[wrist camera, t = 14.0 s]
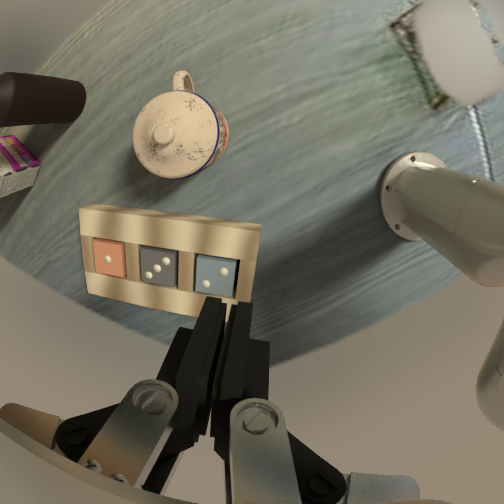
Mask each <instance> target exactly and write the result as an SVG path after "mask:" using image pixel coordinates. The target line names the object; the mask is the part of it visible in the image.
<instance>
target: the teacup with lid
mask: <svg viewBox="0 0 504 504" xmlns="http://www.w3.org/2000/svg"><path fill="white" fill-rule="evenodd" d="M228 140H229V128H228V124H227V121H226V119H225V117H224V116H223V115H222V113H221V112H220V111H219V110H218V109H216V108H215V107H213V106H211V105H210V104H209V103H208V102H207V101H206V100H205V99H204V98H202V97H201V96H199V95H197V94H195V93H194V88H193V83H192V80H191V77H190V75H189V74H188V73H187V72H186V71H178V72H176V73H175V74H174V76H173V80H172V91H169V92H166V93H163V94H161V95H159V96H157V97H155V98H154V99H152V100H151V101H150V102H148V103H147V104H146V105H145V106H144V108H143V109H142V110H141V112H140V113H139V115H138V117H137V119H136V121H135V124H134V128H133V147H134V150H135V153H136V156H137V158H138V159H139V161H140V162H141V164H142V165H143V166H144V167H145V168H146V169H147V170H148V171H150V172H151V173H153V174H155V175H157V176H159V177H162V178H166V179H181V178H185V177H188V176H191V175H193V174H195V173H197V172H198V171H200V170H201V169H202V168H204V167H206V166H209V165H211V164H212V163H214V162H215V161H216V160H218V159H219V158H220V156H221V155H222V154H223V153H224V151H225V149H226V147H227V144H228Z"/></svg>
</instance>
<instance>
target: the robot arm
mask: <svg viewBox="0 0 504 504" xmlns="http://www.w3.org/2000/svg"><path fill="white" fill-rule="evenodd" d="M410 157H411V160H410ZM386 186H388V188H387V189H386ZM380 206H381V210H382V214H383V216H384V219H385V221H386V222H387V224H388V225H389V227H390V228H391V229H392V230H393V231H394V232H395V233H397V234H398V235H399V236H401V237H403V238H405V239H407V240H412V241H421V240H424V241H425V242H427V243H428V244H429V245H430V246H432V247H433V248H434V249H435V250H437V251H438V252H439V253H440V254H442V255H443V256H444V257H445V258H446V259H448V260H449V261H450V262H451V263H452V264H453V265H455V266H456V267H457V268H458V269H459V270H461V271H462V272H463V273H464V274H465V275H466V276H468V277H469V278H470V279H471V280H472V281H474V282H475V283H477V284H479V285H481V286H485V287H500V286H504V185H501V184H498V183H494V182H491V181H488V180H485V179H482V178H479V177H475V176H472V175H468V174H465V173H461V172H458V171H454V170H450V169H448V168H447V166H446V165H445V164H444V163H443V161H441V160H440V159H439V158H438V157H436V156H434V155H432V154H430V153H426V152H420V151H415V152H409V153H406V154H404V155H402V156H400V157H399V158H397V159H396V160H395V161H394V162H393V163H392V164H391V165H390V167H389V168H388V170H387V171H386V173H385V176H384V178H383V180H382V184H381V188H380ZM395 225H396V226H395ZM252 309H253V303H249V302H242V301H238V304H237V305H235V304H231V309H230V313H229V317H228V321H227V326H226V330H225V320H226V310H227V303H223V302H222V298H217V297H211V296H206V299H205V301H204V304H203V306H202V309H201V311H200V314H199V316H198V319H197V322H196V324H195V327H194V329H188V328H183V327H180V328H179V329H178V331H177V333H176V335H175V337H174V339H173V341H172V344H171V346H170V348H169V351H168V353H167V355H166V357H165V360H164V362H163V364H162V366H161V369H160V371H159V373H158V375H157V378H156V380H154V379H153V380H152V379H149V380H144V381H140V382H138V383H137V384H135V385H134V386H133V387H132V388H131V389H130V390H129V391H128V393H127V394H126V395H125V397H124V398H123V400H122V401H121V402H120V403H118V404H115V405H112V406H109V407H106V408H103V409H100V410H96V411H93V412H90V413H87V414H83V415H80V416H76V417H73V418H69V419H67V420H61V419H60V417H59V416H55V415H52V414H48V413H45V412H41V411H38V410H34V409H31V408H28V407H25V406H22V405H19V404H16V403H8V404H5V405H4V406H3V407H1V409H0V504H197V503H192V502H187V501H183V500H178V499H174V498H170V497H166V496H164V494H165V492H166V490H167V488H168V485H169V484H170V481H171V479H172V477H173V475H174V473H175V471H176V469H177V467H178V465H179V462H180V460H181V458H182V456H183V452H184V450H186V449H188V448H190V447H193V446H194V443H195V442H198V439H199V435H204V436H205V434H206V430H207V426H208V421H209V416H210V411H211V428H210V437H215V442H214V450H215V451H216V453H217V454H218V455H219V456H220V457H221V458H222V459H223V460H224V461H223V469H224V490H225V504H452V503H449V502H445V501H441V500H432V499H420V490H419V485H418V483H417V482H416V480H415V479H413V478H411V477H409V476H404V475H377V474H366V473H355V472H351V474H344V473H340V472H339V471H338V470H337V469H336V468H335V467H333V466H332V465H330V464H329V463H328V462H326V461H325V460H324V459H322V458H320V456H318V455H317V454H316V453H314V452H313V451H312V450H311V449H309V448H308V447H307V446H306V445H304V444H303V443H302V442H301V441H299V440H298V439H297V438H296V437H294V436H293V435H292V434H291V433H290V432H288V431H287V428H286V424H285V419H284V416H283V413H282V411H281V410H280V409H279V408H278V406H276V405H275V404H273V403H272V402H270V401H268V387H269V353H270V342H269V341H262V340H255V339H249V335H250V326H251V317H252ZM224 330H225V334H224ZM476 398H477V402H478V405H479V407H480V409H481V411H482V413H483V414H484V416H485V417H486V418H487V419H488V420H489V421H490V422H491V423H492V424H493V425H495V426H496V427H498V428H499V429H501V430H503V431H504V319H503V322H502V324H501V326H500V329H499V331H498V333H497V335H496V338H495V339H494V342H493V344H492V346H491V348H490V350H489V352H488V354H487V356H486V358H485V360H484V362H483V365H482V367H481V369H480V372H479V375H478V378H477V383H476ZM211 407H212V408H211ZM211 409H212V410H211Z"/></svg>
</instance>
